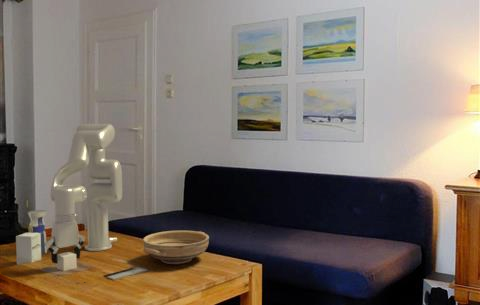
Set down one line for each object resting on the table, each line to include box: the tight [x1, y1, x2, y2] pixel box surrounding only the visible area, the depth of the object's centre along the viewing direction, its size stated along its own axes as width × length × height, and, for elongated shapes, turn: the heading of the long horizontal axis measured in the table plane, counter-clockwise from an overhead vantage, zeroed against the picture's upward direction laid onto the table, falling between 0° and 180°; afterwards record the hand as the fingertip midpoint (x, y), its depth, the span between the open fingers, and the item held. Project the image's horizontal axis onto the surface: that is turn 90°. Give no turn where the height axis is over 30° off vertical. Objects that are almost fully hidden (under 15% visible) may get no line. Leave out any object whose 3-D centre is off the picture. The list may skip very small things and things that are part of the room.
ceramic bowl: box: [142, 230, 210, 265], centre depth 221 cm, size 37×29×10 cm
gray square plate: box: [103, 266, 148, 281], centre depth 205 cm, size 16×16×1 cm
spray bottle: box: [26, 199, 48, 255], centre depth 235 cm, size 8×9×25 cm
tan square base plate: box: [39, 261, 96, 277], centre depth 205 cm, size 16×16×5 cm
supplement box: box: [15, 232, 42, 266], centre depth 218 cm, size 7×7×13 cm
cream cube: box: [56, 251, 78, 271], centre depth 205 cm, size 6×6×6 cm
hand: (66, 260), depth 205 cm, fingers open, 9 cm apart
